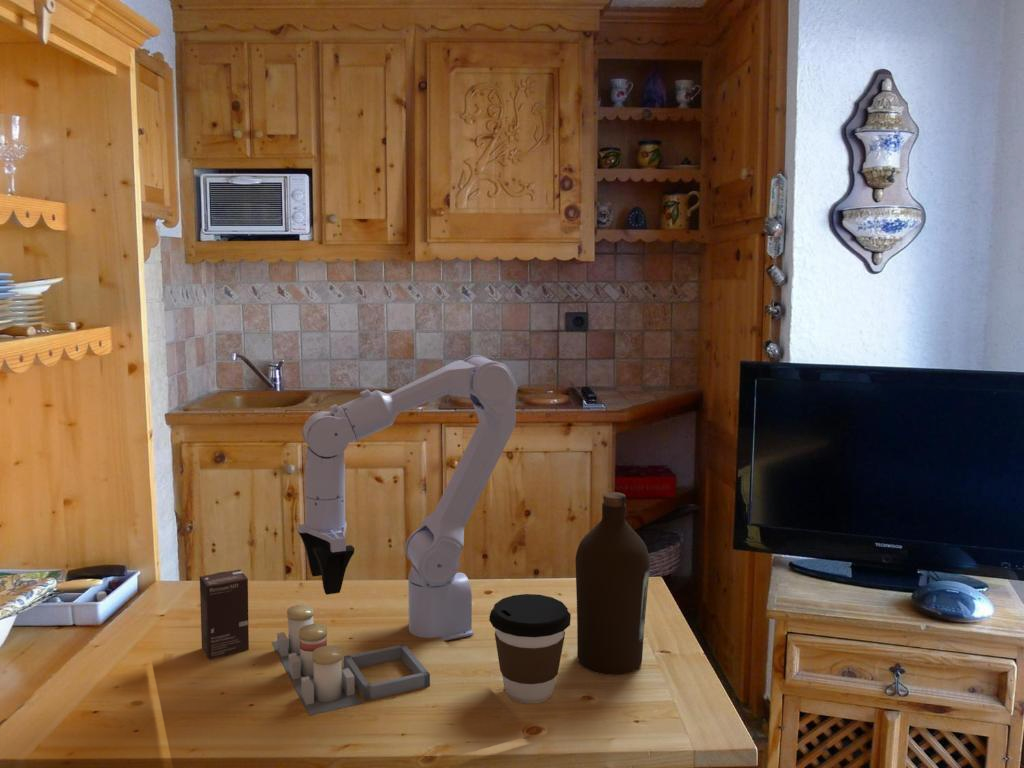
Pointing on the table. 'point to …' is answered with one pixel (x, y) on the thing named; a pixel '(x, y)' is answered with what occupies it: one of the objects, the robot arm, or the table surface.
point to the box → (224, 613)
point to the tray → (388, 686)
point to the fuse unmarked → (327, 673)
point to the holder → (306, 683)
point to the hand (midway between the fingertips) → (325, 583)
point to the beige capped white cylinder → (298, 624)
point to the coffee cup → (529, 644)
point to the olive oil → (611, 592)
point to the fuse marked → (311, 645)
